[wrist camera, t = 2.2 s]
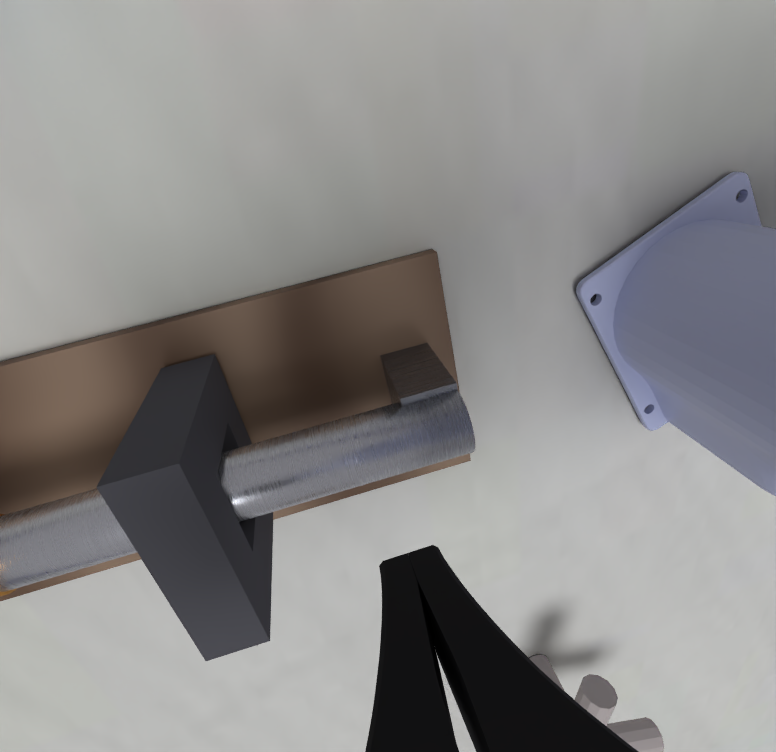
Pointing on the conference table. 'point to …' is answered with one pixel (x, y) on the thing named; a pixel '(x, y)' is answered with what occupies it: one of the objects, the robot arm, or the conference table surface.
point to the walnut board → (241, 371)
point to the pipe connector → (609, 709)
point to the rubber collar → (193, 509)
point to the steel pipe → (265, 471)
